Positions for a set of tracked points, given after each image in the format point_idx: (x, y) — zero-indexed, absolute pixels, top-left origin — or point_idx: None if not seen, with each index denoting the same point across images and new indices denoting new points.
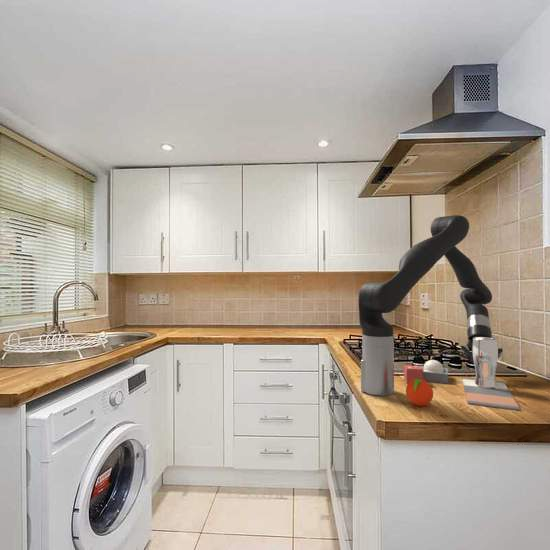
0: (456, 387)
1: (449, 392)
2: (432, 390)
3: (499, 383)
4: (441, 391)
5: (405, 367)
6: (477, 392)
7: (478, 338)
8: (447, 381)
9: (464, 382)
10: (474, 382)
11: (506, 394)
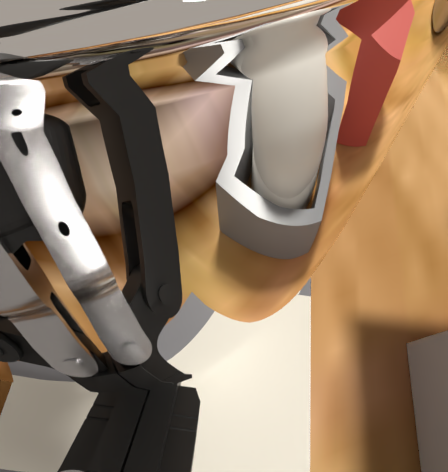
0: (352, 263)
1: (382, 164)
2: None
3: (32, 440)
4: (419, 170)
5: None
6: None
7: (160, 106)
8: (418, 342)
9: (302, 376)
10: (229, 400)
11: None
